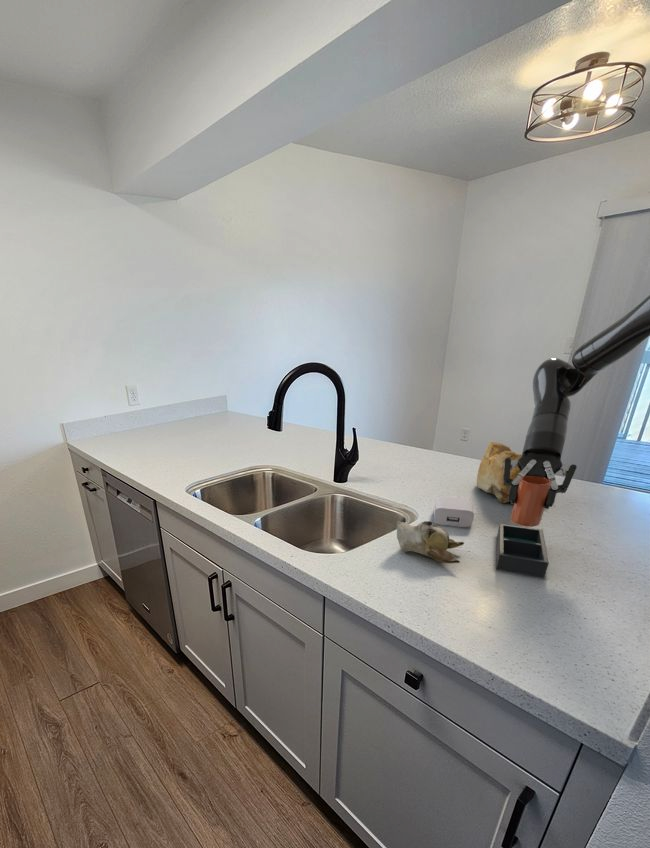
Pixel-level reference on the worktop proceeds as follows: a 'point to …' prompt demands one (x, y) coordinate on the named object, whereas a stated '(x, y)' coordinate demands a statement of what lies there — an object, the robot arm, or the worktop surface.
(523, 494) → the cup
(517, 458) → the rough brown rock
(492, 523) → the worktop surface
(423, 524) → the ceramic sculpture
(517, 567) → the holder
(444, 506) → the charger
